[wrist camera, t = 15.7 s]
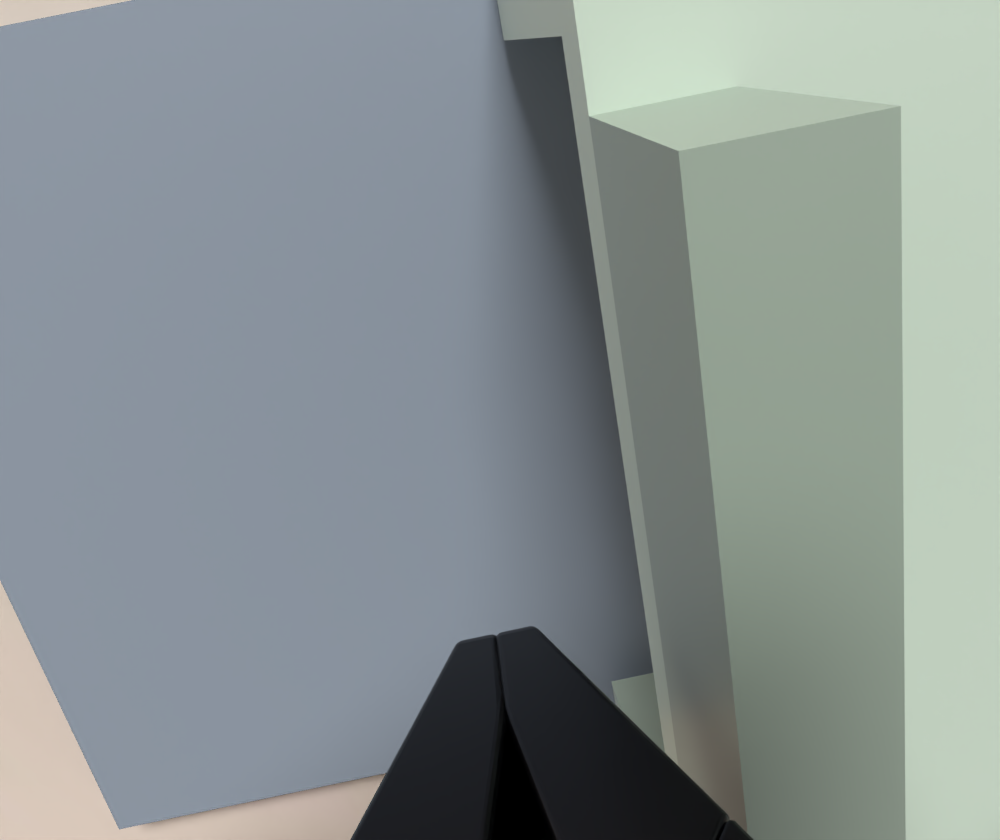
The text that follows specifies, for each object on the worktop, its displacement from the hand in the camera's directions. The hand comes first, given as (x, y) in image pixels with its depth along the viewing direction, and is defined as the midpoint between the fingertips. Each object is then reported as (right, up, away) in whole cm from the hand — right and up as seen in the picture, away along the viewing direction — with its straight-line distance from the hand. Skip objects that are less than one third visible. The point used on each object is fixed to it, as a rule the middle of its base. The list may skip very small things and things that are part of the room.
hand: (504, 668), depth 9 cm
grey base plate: (+2, +3, +7) cm, 8 cm away
